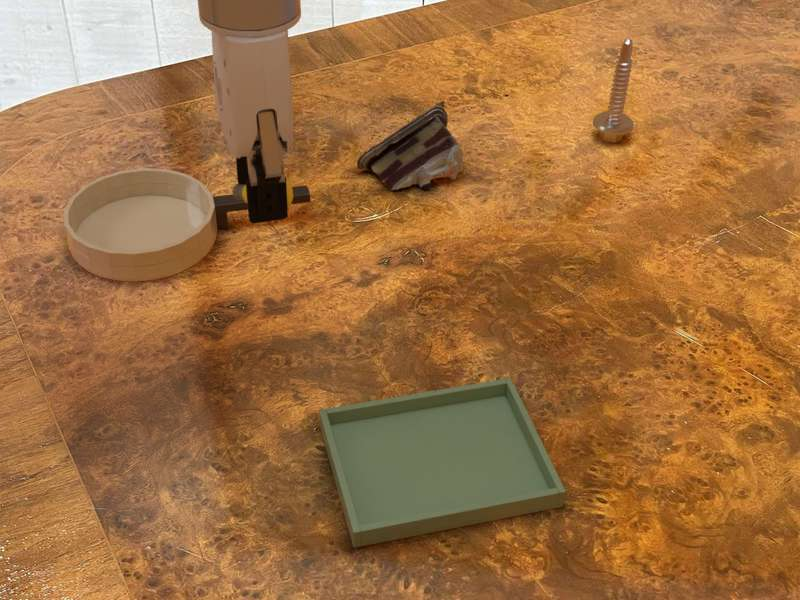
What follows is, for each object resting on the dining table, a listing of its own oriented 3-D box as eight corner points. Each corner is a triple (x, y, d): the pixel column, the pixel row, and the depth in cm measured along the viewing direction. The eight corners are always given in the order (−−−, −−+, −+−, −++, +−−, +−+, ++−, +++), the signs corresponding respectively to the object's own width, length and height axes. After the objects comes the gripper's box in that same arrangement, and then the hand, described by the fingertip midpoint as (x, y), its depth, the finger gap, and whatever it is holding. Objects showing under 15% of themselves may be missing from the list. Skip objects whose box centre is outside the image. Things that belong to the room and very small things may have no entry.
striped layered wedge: (381, 208, 117) (461, 133, 113) (350, 163, 120) (427, 89, 116) (422, 227, 125) (498, 158, 122) (391, 185, 128) (465, 116, 125)
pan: (71, 291, 104) (65, 262, 102) (67, 204, 115) (62, 177, 113) (225, 270, 107) (223, 242, 105) (207, 187, 118) (204, 161, 116)
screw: (621, 125, 131) (637, 145, 127) (584, 129, 130) (599, 150, 127) (640, 27, 123) (657, 46, 119) (600, 30, 122) (616, 49, 118)
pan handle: (217, 231, 112) (214, 206, 110) (215, 222, 113) (212, 196, 111) (311, 219, 114) (310, 194, 112) (307, 210, 115) (307, 184, 113)
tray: (353, 548, 82) (353, 532, 80) (319, 424, 91) (318, 409, 90) (563, 506, 85) (566, 491, 84) (508, 392, 95) (511, 377, 94)
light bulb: (288, 225, 89) (269, 196, 86) (234, 220, 92) (214, 191, 90) (307, 196, 90) (288, 166, 88) (253, 191, 94) (234, 163, 91)
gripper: (183, -44, 84) (204, 154, 95) (215, 54, 71) (234, 268, 83) (277, -52, 85) (286, 144, 97) (324, 43, 73) (328, 254, 85)
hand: (262, 199), depth 90 cm, fingers closed on light bulb, 4 cm apart
